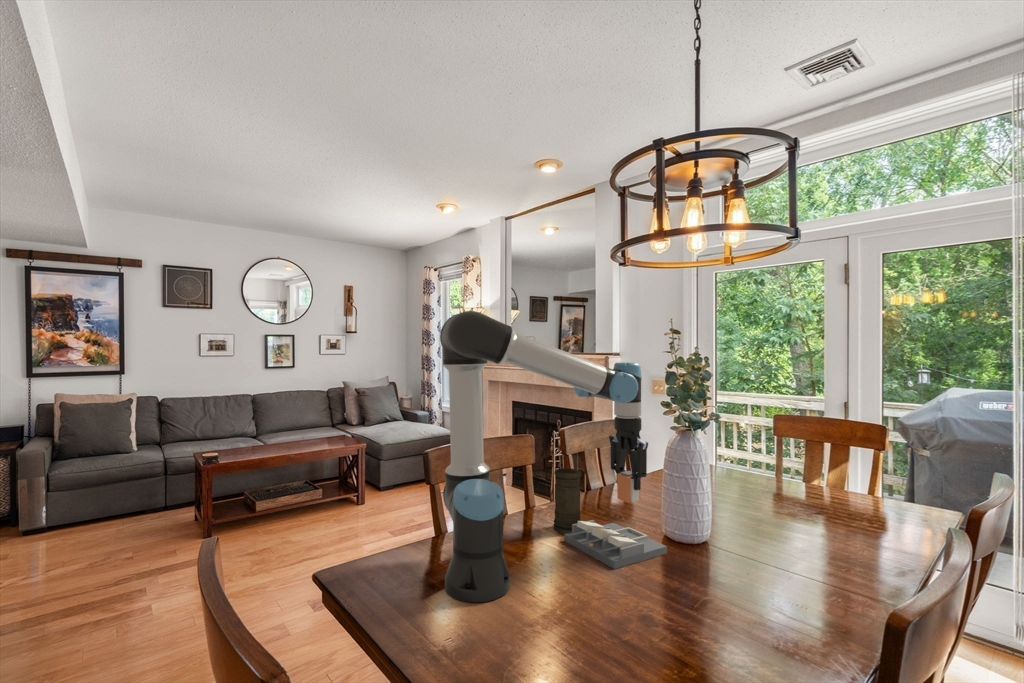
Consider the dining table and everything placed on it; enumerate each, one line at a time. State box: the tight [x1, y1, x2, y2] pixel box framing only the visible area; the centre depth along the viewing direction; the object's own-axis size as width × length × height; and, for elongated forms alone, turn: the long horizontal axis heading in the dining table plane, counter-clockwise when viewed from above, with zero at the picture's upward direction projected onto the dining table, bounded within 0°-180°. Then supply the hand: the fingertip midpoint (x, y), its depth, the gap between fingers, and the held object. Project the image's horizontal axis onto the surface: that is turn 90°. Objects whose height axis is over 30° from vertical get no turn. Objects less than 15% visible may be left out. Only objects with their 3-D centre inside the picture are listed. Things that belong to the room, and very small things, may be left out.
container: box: [552, 467, 583, 535], centre depth 152 cm, size 9×9×18 cm
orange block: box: [616, 470, 642, 504], centre depth 140 cm, size 4×4×8 cm
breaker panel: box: [563, 519, 668, 570], centre depth 138 cm, size 19×21×4 cm
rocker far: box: [577, 520, 605, 531], centre depth 143 cm, size 7×4×2 cm, turn 121°
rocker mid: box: [592, 528, 621, 539], centre depth 137 cm, size 7×4×2 cm, turn 121°
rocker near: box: [608, 536, 638, 547], centre depth 131 cm, size 7×4×2 cm, turn 121°
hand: (628, 498), depth 140 cm, fingers closed on orange block, 4 cm apart
